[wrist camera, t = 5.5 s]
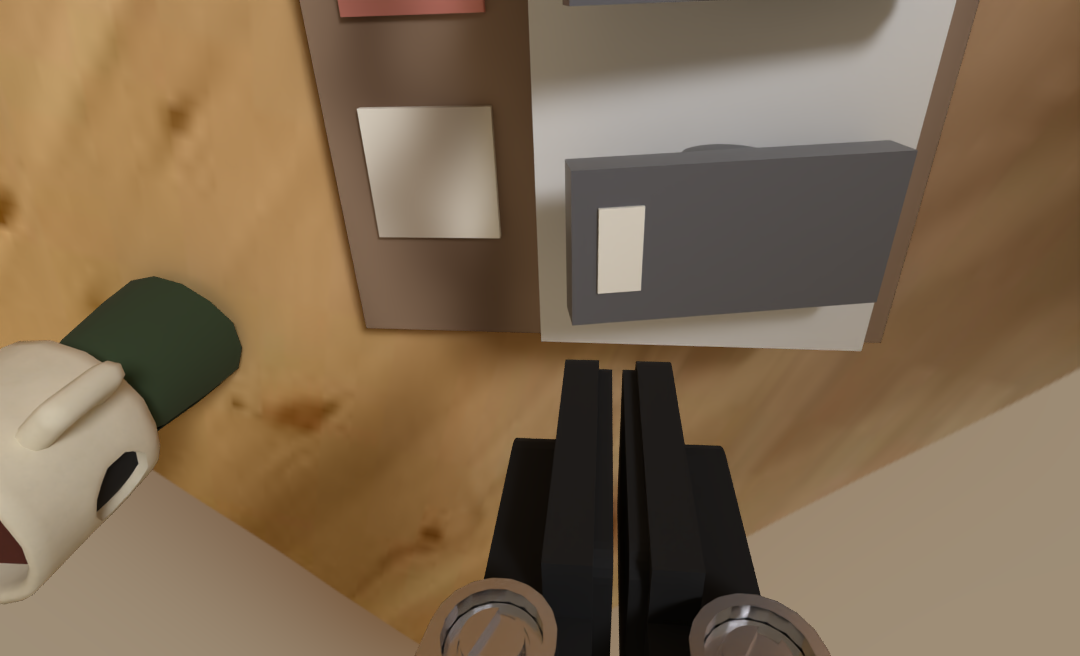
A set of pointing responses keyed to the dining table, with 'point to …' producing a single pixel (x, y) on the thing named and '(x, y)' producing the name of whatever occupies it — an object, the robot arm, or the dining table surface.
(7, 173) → the dining table surface
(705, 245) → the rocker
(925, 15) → the switch housing
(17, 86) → the dining table surface
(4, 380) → the character mug
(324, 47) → the chart board
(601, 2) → the rocker middle
